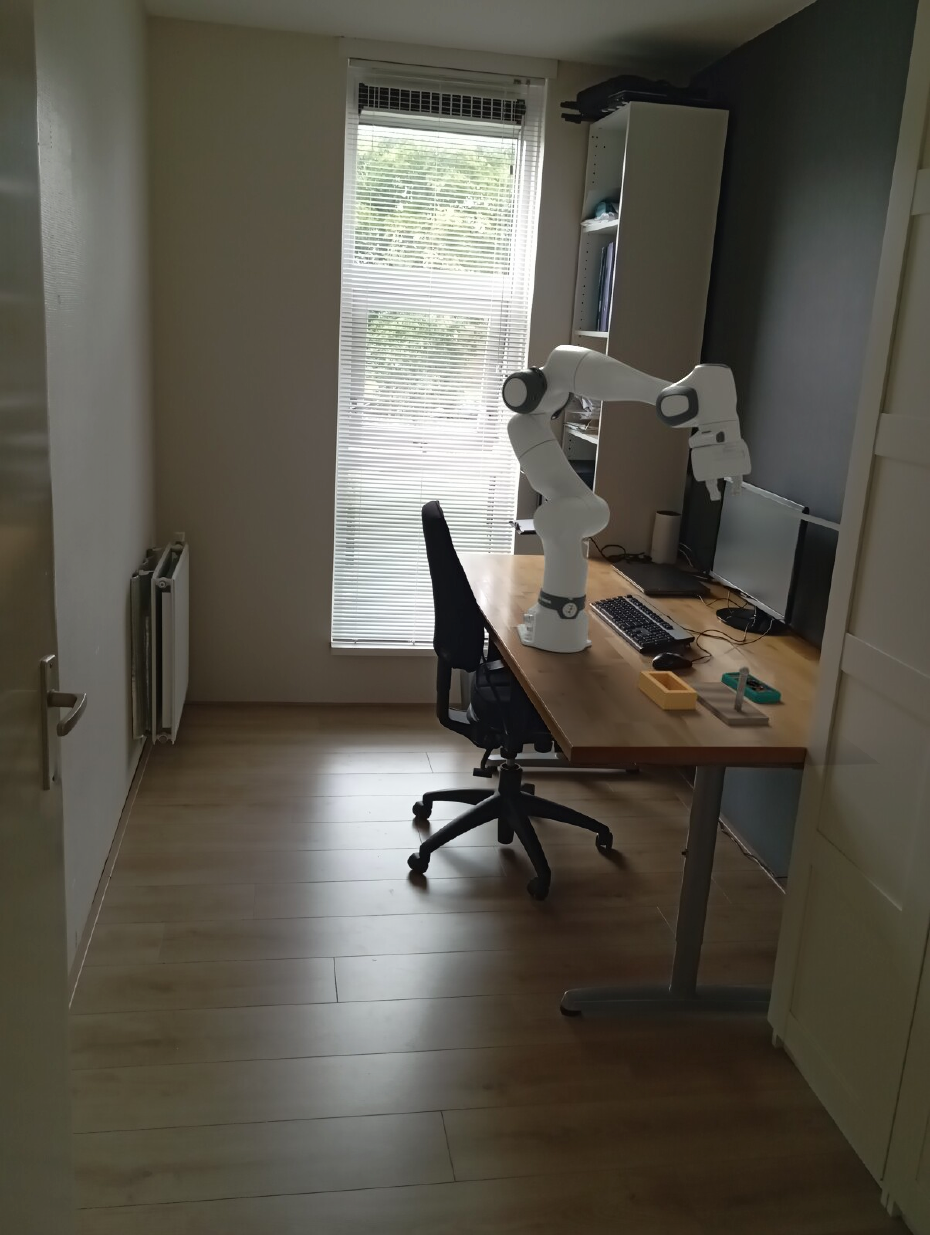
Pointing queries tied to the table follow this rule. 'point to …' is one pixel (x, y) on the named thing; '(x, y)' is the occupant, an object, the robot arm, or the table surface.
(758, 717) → the keeper board
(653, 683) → the orange rectangular frame
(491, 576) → the table surface
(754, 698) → the digital multimeter
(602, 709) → the table surface
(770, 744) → the table surface
